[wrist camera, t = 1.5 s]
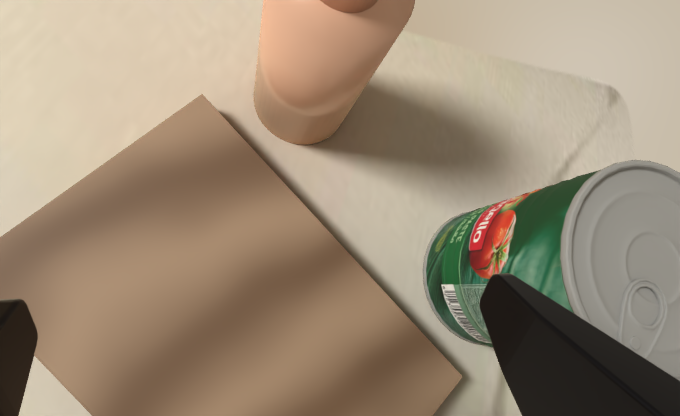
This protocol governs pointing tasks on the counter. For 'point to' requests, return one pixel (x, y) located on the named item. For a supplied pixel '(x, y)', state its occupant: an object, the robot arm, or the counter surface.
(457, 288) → the canned tomato
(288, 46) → the pink bottle
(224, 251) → the walnut board
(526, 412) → the robot arm
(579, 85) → the counter surface
